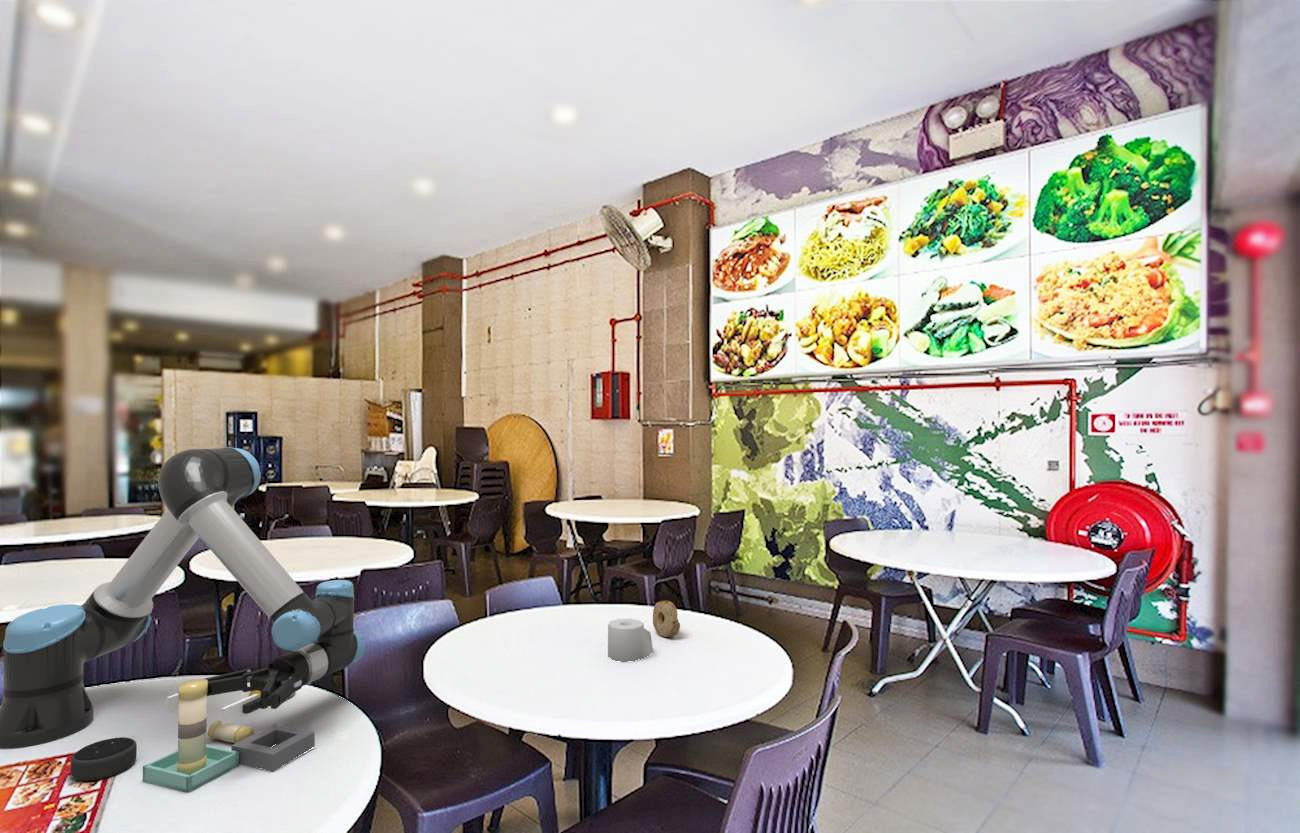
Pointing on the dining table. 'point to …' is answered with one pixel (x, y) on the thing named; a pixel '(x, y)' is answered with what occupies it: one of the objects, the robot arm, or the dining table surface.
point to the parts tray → (216, 766)
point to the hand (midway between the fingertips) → (194, 710)
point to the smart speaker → (103, 759)
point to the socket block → (286, 749)
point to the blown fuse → (192, 726)
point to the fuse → (229, 732)
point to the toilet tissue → (628, 640)
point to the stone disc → (665, 619)
